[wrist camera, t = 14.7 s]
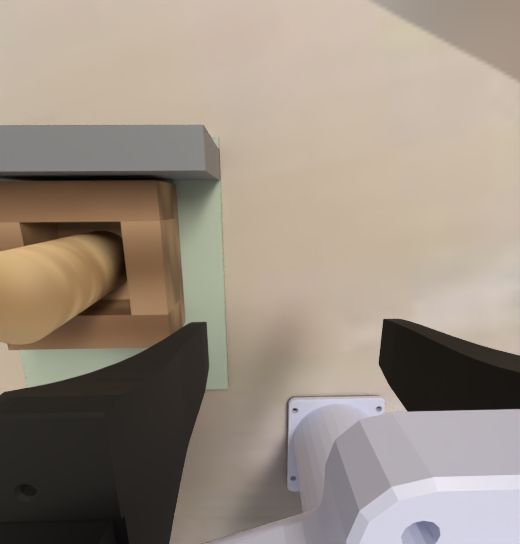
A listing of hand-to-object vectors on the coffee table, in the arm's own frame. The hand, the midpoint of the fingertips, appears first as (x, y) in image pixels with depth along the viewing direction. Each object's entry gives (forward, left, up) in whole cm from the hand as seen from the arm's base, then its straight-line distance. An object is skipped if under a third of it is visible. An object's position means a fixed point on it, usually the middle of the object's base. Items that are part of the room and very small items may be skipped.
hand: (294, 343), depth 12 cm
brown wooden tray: (+2, +12, -10) cm, 16 cm away
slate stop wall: (+8, +12, -10) cm, 18 cm away
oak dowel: (+2, +12, -9) cm, 15 cm away
